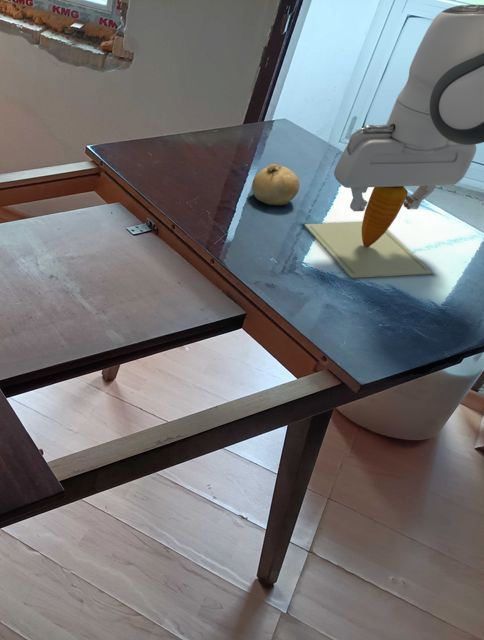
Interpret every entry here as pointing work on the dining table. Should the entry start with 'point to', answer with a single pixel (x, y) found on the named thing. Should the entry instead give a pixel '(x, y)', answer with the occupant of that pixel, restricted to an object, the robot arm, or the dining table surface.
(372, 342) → the dining table surface
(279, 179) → the onion
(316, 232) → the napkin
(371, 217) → the carrot
